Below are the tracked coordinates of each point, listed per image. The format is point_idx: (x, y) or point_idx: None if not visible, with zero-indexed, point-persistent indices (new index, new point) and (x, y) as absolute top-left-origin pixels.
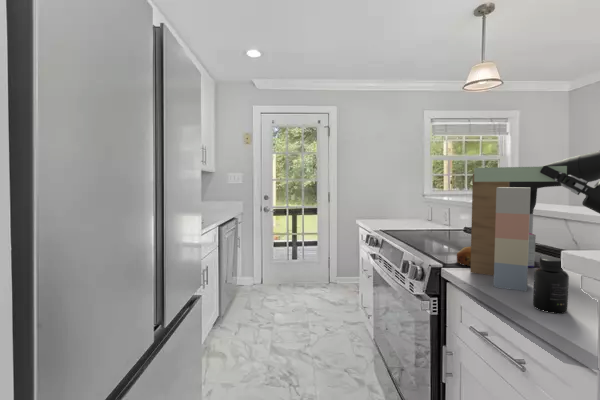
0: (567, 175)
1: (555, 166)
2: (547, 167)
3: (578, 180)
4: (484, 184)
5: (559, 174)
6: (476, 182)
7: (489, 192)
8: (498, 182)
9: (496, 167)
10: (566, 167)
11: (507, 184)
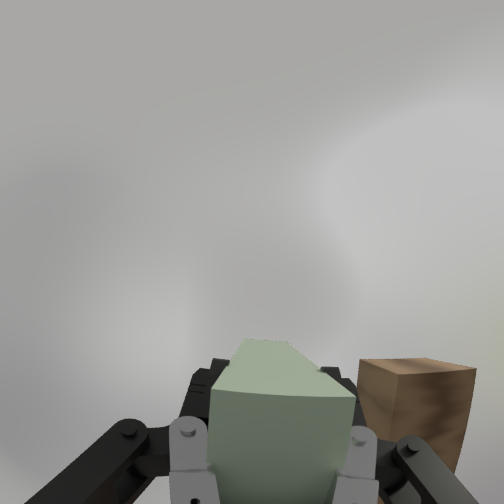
0: (99, 441)
1: (220, 375)
2: (209, 371)
3: (41, 489)
4: (366, 397)
5: (162, 430)
6: (360, 386)
7: (367, 425)
8: (381, 400)
9: (241, 343)
10: (211, 401)
11: (391, 414)
